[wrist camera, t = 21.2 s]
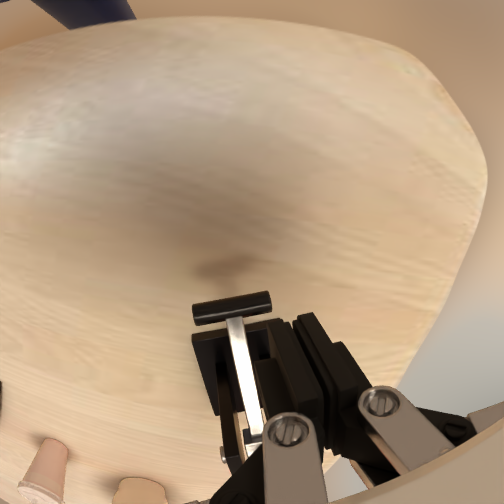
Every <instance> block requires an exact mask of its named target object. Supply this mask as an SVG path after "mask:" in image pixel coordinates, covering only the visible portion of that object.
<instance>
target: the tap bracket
mask: <svg viewBox="0 0 504 504" xmlns="http://www.w3.org/2000/svg"><path fill="white" fill-rule="evenodd" d="M279 319H280V318H277V319H272V320H268V321H263V322H258V323H253V324H248V325H244V327H245V332H246V337H247V343H248V348H249V353H250V358H251V363H252V368H253V373H254V378H255V382H256V387H257V392H258V397H259V402H260V407H261V408H263V405H262V401H261V397H260V393H259V389H258V384H257V379H256V374H255V368H254V361H259V360H264V359H269V358H271V354H270V346H269V338H268V330H267V322H269V321H274V320H279ZM192 345H193V348H194V351H195V355H196V358H197V361H198V364H199V368H200V371H201V374H202V377H203V380H204V384H205V387H206V390H207V393H208V396H209V399H210V402H211V405H212V408H213V411H214V414H215V416H219V415H220V420H221V429H222V438H223V446H221V447H220V454H221V459H222V462H223V463H227V464H228V467H229V469H230V472H231V474H232V475H233V474H234V473H235V472H236V471H237V470H238V469H239V468H240V467H241V465H242V464H243V463H244V462H245V457H244V451H243V445H242V439H241V434H240V427H239V421H238V415H237V412H243V411H245V409H244V405H243V400H242V396H241V391H240V387H239V382H238V378H237V373H236V368H235V364H234V359H233V354H232V350H231V345H230V340H229V335H228V330H227V328H226V329H221V330H215V331H209V332H204V333H198V334H192Z"/></svg>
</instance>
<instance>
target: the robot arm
mask: <svg viewBox="0 0 504 504" xmlns="http://www.w3.org/2000/svg"><path fill="white" fill-rule="evenodd" d="M292 325H293V329H292V327H291V325H290V323H289V322H283V320H282V319H279V320H274V321H269V322H267V330H268V338H269V346H270V354H271V358H269V359H264V360H259V361H254V368H255V374H256V379H257V384H258V389H259V393H260V397H261V401H262V405H263V409H264V412H265V416H266V420H267V422H266V424H265V425H264V427H263V431H262V443H261V444H260V445H259V446H258V448H257V449H256V450H255V451H254V452H253V453H252V454H251V456H250V457H249V458H248V459H247V460H246V461H245V462H244V463H243V464H242V465H241V467H240V468H239V469H238V470H237V471H236V472H235V473H234V474H233V475H232V476H231V477H230V478H229V479H228V480H227V481H226V483H225V484H224V485H223V486H222V487H221V488H220V489H219V490H218V491H217V492H216V493H215V494H214V495H213V496H212V498H211V499H208V500H205V501H201V502H198V501H197V500H196V501H192V502H189V503H185V504H504V402H501V403H498V404H496V405H493V406H490V407H487V408H484V409H481V410H478V411H476V412H472V413H469V414H468V415H467V417H465V418H464V417H462V416H459V415H453V414H448V413H442V412H438V411H433V410H428V409H423V408H418V407H415V406H414V405H413V404H412V403H411V402H410V401H409V400H408V399H407V398H406V397H405V396H404V395H403V394H401V392H399V391H398V390H397V389H395V388H392V387H389V386H375V387H372V385H371V384H370V382H369V381H368V379H367V378H366V376H365V375H364V373H363V372H362V370H361V369H360V367H359V366H358V364H357V363H356V361H355V360H354V358H353V357H352V355H351V354H350V352H349V351H348V349H347V348H346V346H345V345H344V344H343V342H341V341H339V342H336V343H332V342H331V340H330V338H329V337H328V335H327V334H326V332H325V330H324V329H323V327H322V326H321V324H320V323H319V321H318V319H317V318H316V316H315V315H314V313H313V312H311V313H307V314H302V315H298V316H297V320H293V322H292ZM324 447H325V449H326V450H328V449H331V450H332V452H333V455H334V456H336V455H339V454H341V456H342V457H344V458H347V459H349V460H350V463H351V466H352V467H353V468H354V470H355V471H356V473H357V474H358V475H359V477H360V478H361V479H362V481H363V482H364V484H365V485H366V487H367V488H368V490H365V491H362V492H360V493H357V494H354V495H351V496H348V497H345V498H342V499H339V500H336V501H333V502H330V503H328V498H327V492H326V486H325V481H324V475H323V470H322V463H323V453H324Z"/></svg>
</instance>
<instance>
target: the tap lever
mask: <svg viewBox="0 0 504 504" xmlns="http://www.w3.org/2000/svg"><path fill="white" fill-rule="evenodd" d="M270 312H272V303H271V298H270V294H269V292H268V291H262V292H257V293H252V294H246V295H241V296H236V297H230V298H225V299H219V300H214V301H208V302H203V303H197V304H193V305H192V313H193V318H194V322H195V324H196V326H200V325H206V324H212V323H217V322H223V321H226V325H227V330H228V335H229V340H230V345H231V350H232V354H233V359H234V364H235V368H236V373H237V378H238V382H239V387H240V391H241V396H242V400H243V405H244V409H245V413H246V418H247V422H248V426H249V428H248V429H243V437H244V445H245V449H246V453H247V457H248V458H249V457H250V456H251V454H252V453H253V452H254V451H255V450H256V449H257V448H258V446H259V445H260V444H261V443H262V431H263V427H264V421H263V416H262V411H261V407H260V402H259V397H258V392H257V387H256V382H255V378H254V373H253V368H252V363H251V358H250V353H249V348H248V343H247V337H246V332H245V327H244V322H243V318H244V317H249V316H255V315H260V314H265V313H270Z"/></svg>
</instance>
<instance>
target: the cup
mask: <svg viewBox="0 0 504 504" xmlns="http://www.w3.org/2000/svg"><path fill="white" fill-rule="evenodd" d="M112 504H168V502H167V501H166V497H165V489H164V488H163V487H162V486H161V485H160V484H158V483H156V482H154V481H151V480H147V479H143V478H126V479H123V480H122V481H121V482H120V485H119V488H118V492H117V493H115V495H114V498H113V501H112Z"/></svg>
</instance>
